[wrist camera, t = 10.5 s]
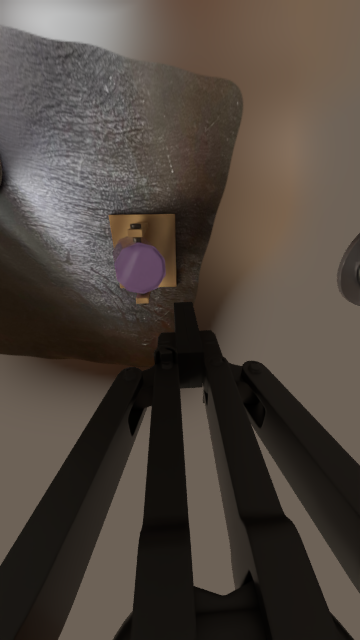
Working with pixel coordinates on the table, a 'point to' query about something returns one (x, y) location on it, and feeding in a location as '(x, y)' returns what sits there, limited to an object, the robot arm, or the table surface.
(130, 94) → the table surface
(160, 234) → the swivel stand
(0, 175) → the vase
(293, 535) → the robot arm
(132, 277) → the cup
